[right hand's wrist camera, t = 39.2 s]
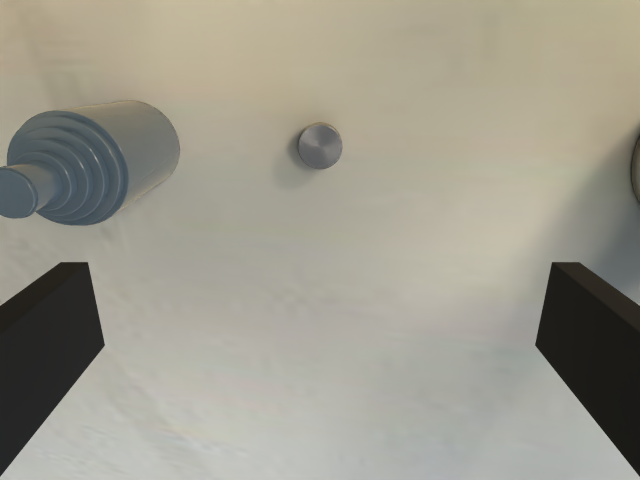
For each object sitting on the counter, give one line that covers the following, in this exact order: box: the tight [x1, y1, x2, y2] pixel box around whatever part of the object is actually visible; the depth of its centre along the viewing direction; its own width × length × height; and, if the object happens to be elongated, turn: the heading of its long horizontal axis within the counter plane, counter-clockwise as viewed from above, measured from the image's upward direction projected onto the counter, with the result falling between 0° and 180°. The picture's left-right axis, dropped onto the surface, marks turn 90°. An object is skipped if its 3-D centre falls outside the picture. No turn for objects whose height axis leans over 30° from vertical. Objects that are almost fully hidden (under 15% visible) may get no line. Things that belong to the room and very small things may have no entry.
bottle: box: [0, 101, 180, 225], centre depth 33 cm, size 8×8×18 cm
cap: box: [298, 122, 342, 169], centre depth 41 cm, size 4×4×2 cm
